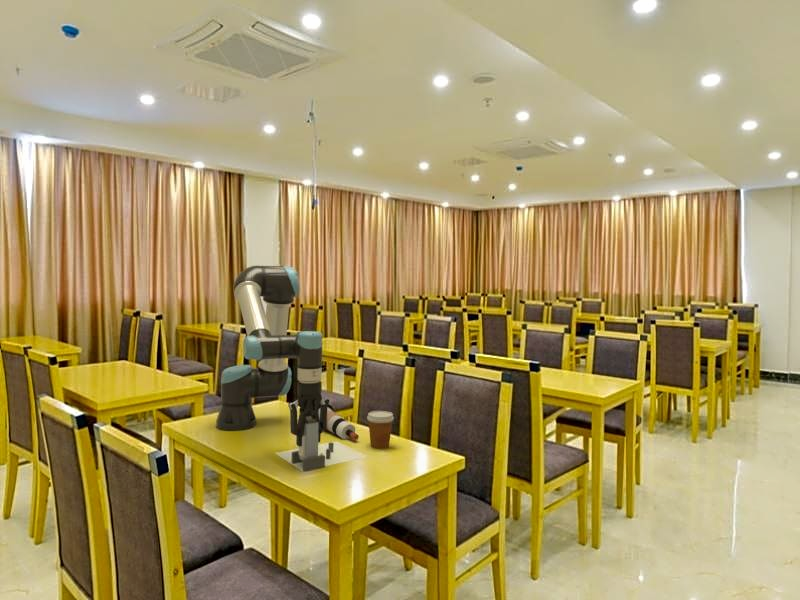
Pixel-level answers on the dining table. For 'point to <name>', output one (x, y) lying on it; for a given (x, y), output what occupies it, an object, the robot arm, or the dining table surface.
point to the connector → (310, 438)
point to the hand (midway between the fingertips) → (308, 454)
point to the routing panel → (321, 456)
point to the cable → (337, 424)
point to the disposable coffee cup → (380, 428)
